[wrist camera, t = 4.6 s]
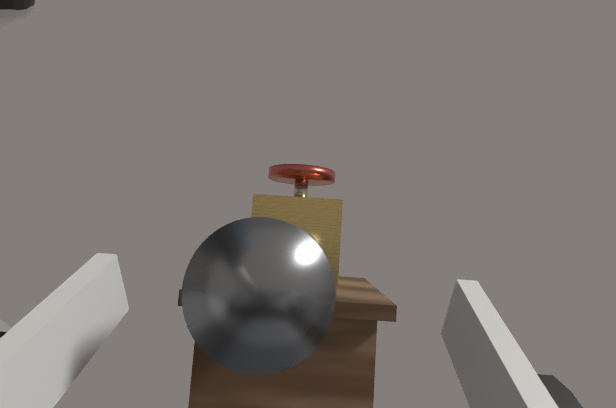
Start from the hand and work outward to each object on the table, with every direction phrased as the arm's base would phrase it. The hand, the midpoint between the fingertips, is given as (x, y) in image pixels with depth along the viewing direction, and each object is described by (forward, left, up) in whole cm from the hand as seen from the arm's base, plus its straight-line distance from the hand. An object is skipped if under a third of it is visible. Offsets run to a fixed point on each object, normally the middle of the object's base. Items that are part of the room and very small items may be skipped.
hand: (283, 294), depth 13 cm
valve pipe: (-8, +4, -2) cm, 9 cm away
